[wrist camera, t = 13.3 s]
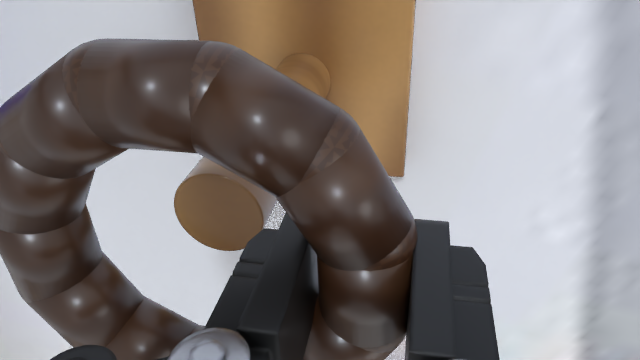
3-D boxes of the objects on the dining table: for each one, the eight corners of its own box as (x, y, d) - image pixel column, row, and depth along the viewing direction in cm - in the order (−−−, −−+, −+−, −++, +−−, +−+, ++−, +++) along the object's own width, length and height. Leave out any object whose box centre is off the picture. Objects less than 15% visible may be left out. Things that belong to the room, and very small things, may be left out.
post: (227, 154, 25) (105, 318, 15) (198, -37, 20) (-2, 33, 11) (404, 165, 23) (388, 356, 14) (418, -40, 19) (408, 40, 9)
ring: (92, 339, 15) (49, 396, 13) (-34, 24, 10) (-127, 51, 8) (404, 388, 13) (399, 460, 12) (434, 31, 8) (434, 67, 7)
